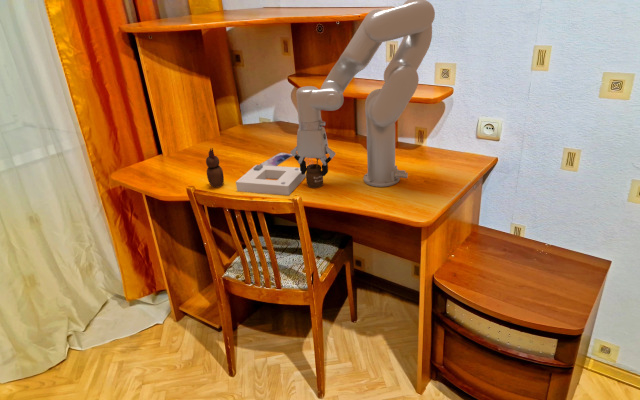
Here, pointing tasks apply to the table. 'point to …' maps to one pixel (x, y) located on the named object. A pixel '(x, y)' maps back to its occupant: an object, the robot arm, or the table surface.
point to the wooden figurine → (214, 170)
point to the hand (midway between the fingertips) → (314, 173)
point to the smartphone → (277, 159)
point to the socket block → (258, 184)
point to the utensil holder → (314, 175)
